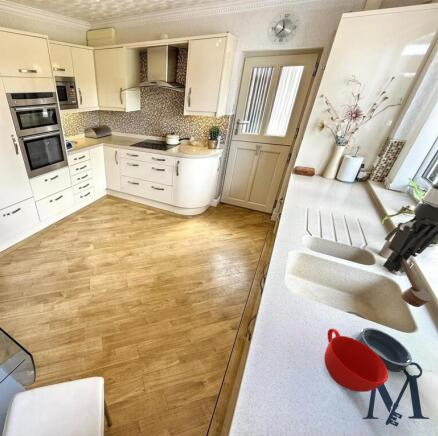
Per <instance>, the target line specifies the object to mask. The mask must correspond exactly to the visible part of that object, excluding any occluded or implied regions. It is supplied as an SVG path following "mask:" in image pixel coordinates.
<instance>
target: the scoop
mask: <svg viewBox="0 0 438 436" xmlns="http://www.w3.org/2000/svg"><path fill="white" fill-rule="evenodd" d="M407 261H408V260H407ZM407 261H406V259H405V257H403V259H402V260H401V261H400V263H401V265H402V267H401V268H402V269H403V272H404V273H405V275H406V277H407V279H408V281H409V283H410V285H411V286H410V287H409V288H407V289H405V290H404V291H402V292H401V293H400V297H401V299H402V300H403V301H404V302H405V303H406V304H408V305H410V306H412V307H415V308H420V307H422V306H424V305H426V304H427V303H429V302H431V300H432V296H431V295H430V294H429V293H428V292H427V290H425V289H422V288H421V286H420V284H419V282H418V281H417V278H416V277H415V275H414V272H413V271H412V269H411V267H410V265H409V263H408V262H407Z"/></svg>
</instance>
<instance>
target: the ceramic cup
mask: <svg viewBox="0 0 438 436" xmlns="http://www.w3.org/2000/svg"><path fill="white" fill-rule="evenodd" d="M333 334H334V337H333ZM327 341H328V344H327V346H326V348H325V352H324V357H323V359H324V360H323V361H324V366H325V369H326V371H327V373H328V374H329V376H330V378H331V379H332V380H333V381H334V382H335V383H336V384H337V385H339V386H340V387H342V388H345V389H347V390H350V391H353V392H358V393H367V392H370V391H374V390H377V389H378V388H379V387H381V386H383V385H384V384H385V383H386V382H387V381H388V379H389V371H388V370H387V368H386V366H385V364H384V363H383V361H382V360H381V359H380V357H379V356H378V355H377V354H376V353H375V352H374V351H372V350H371V349H370V348H369V347H367V346H366V345H364V344H363V343H361V342H359V341H357V340H356V338H353V337H350V336H345V335H341V333H340V332H339V331H338V330H337V329H335V328H329V329H328V331H327Z"/></svg>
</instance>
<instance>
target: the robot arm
mask: <svg viewBox="0 0 438 436" xmlns="http://www.w3.org/2000/svg"><path fill="white" fill-rule="evenodd" d="M413 213H414V216H413V217H412V218H410V219H409V221H408V222H406V223H404V222H398V224H397V229H396V232H395V234H394V235H393V237H392V239H391V241H390V243H389V245H388V247H387V249H388V250H390V251H391V252H390V254H389V255H388V257H387V259H386V260H385V262H384V263H383V264H382V267H383V268H385V269H386V270H388V271H389V272H393V271H395V272H396V273H397V272H399V271H400V270H401V268H403V267H402V265H401V263H400V261H401V260H402V259H403V257H405V259H406V261H408V260H409V259H410V258H411V257H413V258H416V257H417V256H418V255H420V254H422V253H423V252H424V251H425V250H426V249H427V248H428V247H429V246H430V245H431V244H433V242H435V240H436V239H437V238H438V176H437V177H436V178H435V180H434V181H433V183H432V184H431V186H430V187H429V189H428V190H427V191H426V193H424V195H423V196H422V200H420V201H418V203H417V205H416V206H415V208H414V209H413Z"/></svg>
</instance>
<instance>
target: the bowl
mask: <svg viewBox="0 0 438 436" xmlns="http://www.w3.org/2000/svg"><path fill="white" fill-rule="evenodd" d="M355 340H357V341H359V342H361V343H363V344H364V345H366V346H367V347H369V348H370V349H371V350H372V351H374V352H375V353H376V354H377V355H378V356H379V357H380V359H381V360H382V361H383V363H384V364H385V366H386V368H387V371H388V372H392V373H401V372H403V371H404V370H405V369H407V368H408V367H409V366H410V365H412V361H413V358H412V355H411V353H410V352H409V350H408V349H407V347H406V346H405V345H404V344H402V342H401V341H399V340H398V339H396V337H394V336H392V335H391V334H389V333H387V332H386V331H383V330H380V329H378V328H373V327H365V328H363V329H362V330H361V331H360V332H359V334H358V335H357V336H356V338H355Z"/></svg>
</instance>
